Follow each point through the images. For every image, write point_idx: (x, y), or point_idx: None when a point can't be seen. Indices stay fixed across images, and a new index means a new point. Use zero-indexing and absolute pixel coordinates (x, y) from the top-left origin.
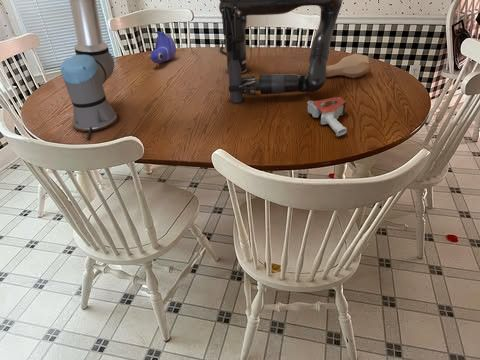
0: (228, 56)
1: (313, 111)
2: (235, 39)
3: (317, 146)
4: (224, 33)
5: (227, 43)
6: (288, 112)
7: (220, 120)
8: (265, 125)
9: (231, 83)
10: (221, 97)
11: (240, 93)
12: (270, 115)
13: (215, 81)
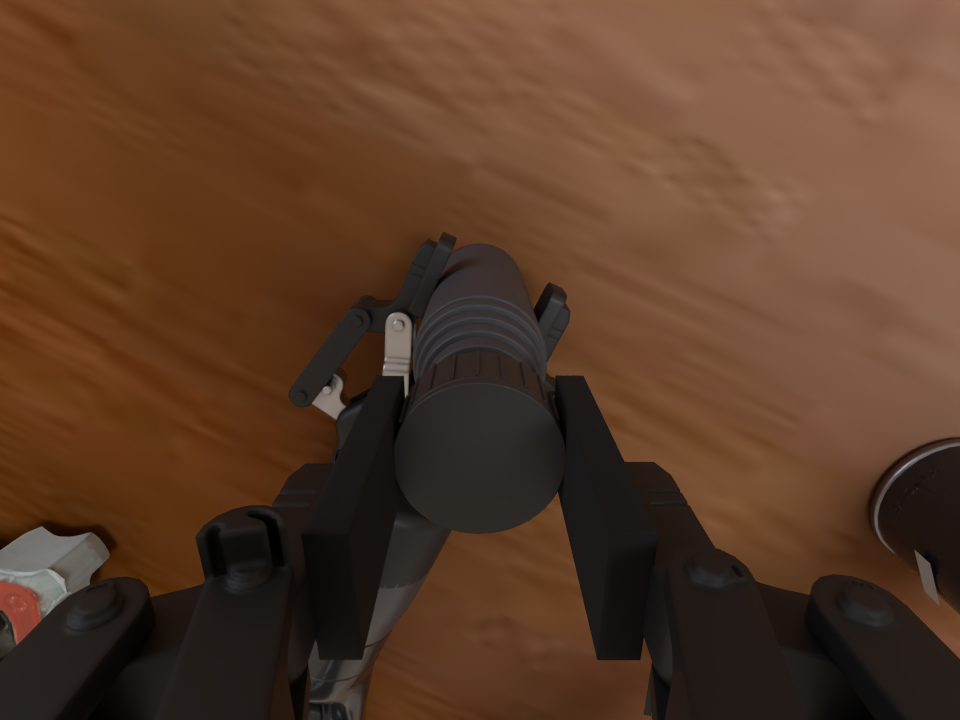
0: (492, 362)
1: (3, 548)
2: (71, 614)
3: None
4: (837, 617)
5: (595, 479)
6: (173, 463)
7: (214, 37)
8: (48, 280)
9: (455, 276)
10: (587, 211)
11: (365, 296)
12: (170, 366)
13: (893, 293)
